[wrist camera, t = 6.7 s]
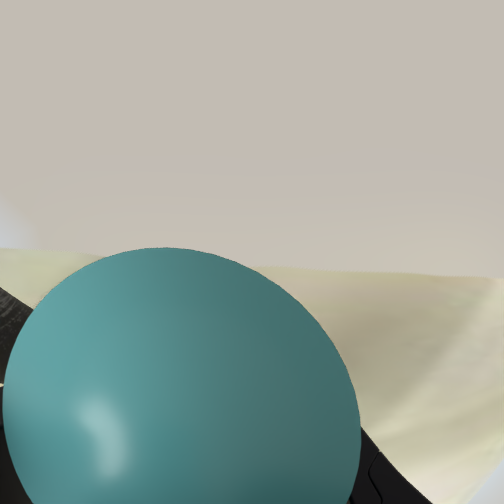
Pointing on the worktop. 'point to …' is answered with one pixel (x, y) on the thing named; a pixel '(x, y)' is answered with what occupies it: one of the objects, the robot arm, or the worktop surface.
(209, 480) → the teal cap
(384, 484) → the robot arm
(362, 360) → the worktop surface
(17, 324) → the travel mug
